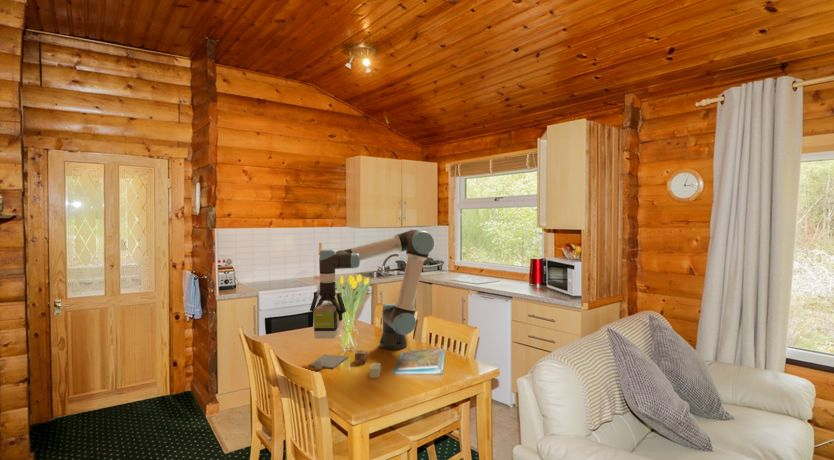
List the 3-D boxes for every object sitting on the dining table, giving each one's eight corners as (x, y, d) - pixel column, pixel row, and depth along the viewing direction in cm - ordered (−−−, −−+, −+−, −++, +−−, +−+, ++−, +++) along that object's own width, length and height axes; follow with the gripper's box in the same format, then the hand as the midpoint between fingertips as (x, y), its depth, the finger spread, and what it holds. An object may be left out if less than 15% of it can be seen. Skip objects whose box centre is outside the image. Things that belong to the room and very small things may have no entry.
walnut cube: (366, 360, 229) (366, 350, 229) (365, 363, 224) (365, 353, 224) (356, 360, 229) (356, 350, 229) (355, 363, 224) (354, 353, 224)
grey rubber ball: (324, 368, 218) (324, 360, 218) (320, 371, 214) (320, 362, 214) (316, 367, 219) (316, 359, 219) (312, 370, 215) (312, 362, 215)
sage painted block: (380, 371, 214) (380, 363, 213) (378, 378, 206) (378, 369, 206) (372, 371, 214) (371, 363, 214) (369, 377, 206) (369, 369, 206)
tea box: (321, 330, 234) (321, 301, 233) (341, 330, 233) (341, 301, 232) (313, 338, 219) (313, 307, 218) (334, 339, 218) (334, 307, 217)
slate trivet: (347, 358, 232) (347, 356, 232) (333, 368, 217) (333, 367, 217) (324, 355, 236) (324, 354, 236) (308, 366, 221) (308, 364, 221)
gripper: (352, 281, 225) (353, 326, 226) (309, 279, 231) (310, 322, 232) (346, 283, 218) (346, 329, 219) (302, 281, 224) (302, 326, 225)
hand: (328, 326), depth 226 cm, fingers closed on tea box, 11 cm apart
